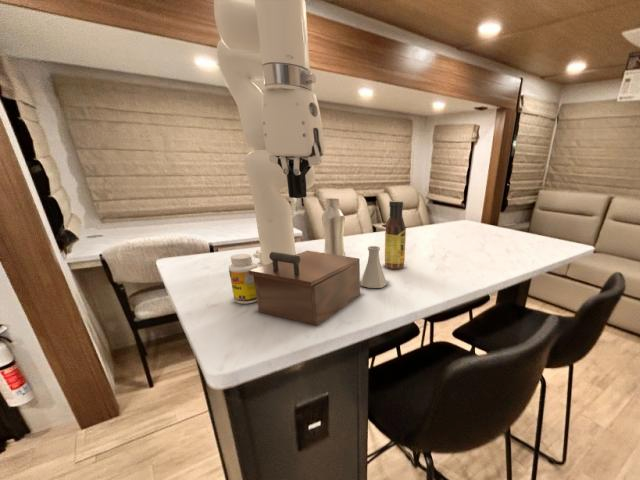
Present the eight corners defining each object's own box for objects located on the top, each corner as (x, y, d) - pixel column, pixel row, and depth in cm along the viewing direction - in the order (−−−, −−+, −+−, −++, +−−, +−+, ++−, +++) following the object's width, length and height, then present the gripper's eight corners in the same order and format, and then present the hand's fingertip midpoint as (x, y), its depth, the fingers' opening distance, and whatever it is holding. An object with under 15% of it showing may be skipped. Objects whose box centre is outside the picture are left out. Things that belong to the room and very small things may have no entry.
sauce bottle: (404, 270, 94) (407, 202, 87) (383, 269, 94) (385, 201, 86) (404, 264, 100) (407, 200, 93) (385, 263, 100) (386, 199, 93)
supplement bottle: (230, 299, 70) (221, 255, 66) (254, 293, 74) (247, 251, 70) (241, 306, 67) (233, 261, 63) (266, 299, 71) (259, 256, 66)
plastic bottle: (322, 265, 96) (317, 197, 88) (343, 263, 99) (341, 197, 91) (326, 271, 91) (322, 200, 83) (348, 269, 93) (346, 200, 85)
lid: (311, 286, 56) (309, 261, 54) (249, 274, 61) (245, 251, 59) (359, 261, 72) (359, 242, 70) (307, 253, 77) (306, 235, 75)
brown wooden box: (317, 325, 60) (314, 286, 57) (258, 311, 65) (252, 274, 62) (360, 294, 75) (359, 262, 72) (310, 285, 80) (307, 254, 77)
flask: (383, 290, 79) (384, 252, 75) (356, 287, 80) (355, 249, 76) (389, 281, 85) (390, 245, 81) (364, 278, 86) (364, 243, 82)
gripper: (338, 86, 53) (342, 198, 60) (269, 90, 58) (280, 193, 65) (311, 74, 46) (319, 202, 54) (236, 79, 51) (252, 196, 58)
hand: (298, 197), depth 59 cm, fingers closed
